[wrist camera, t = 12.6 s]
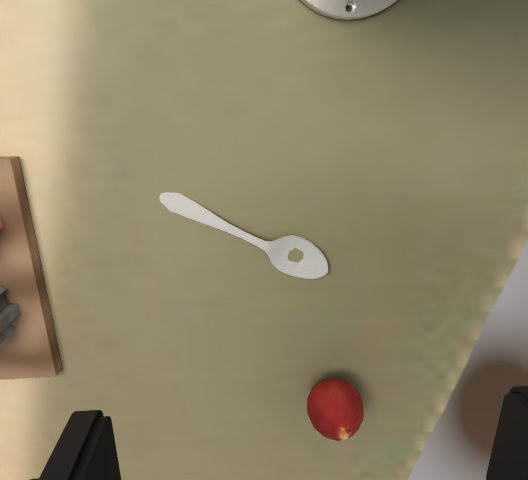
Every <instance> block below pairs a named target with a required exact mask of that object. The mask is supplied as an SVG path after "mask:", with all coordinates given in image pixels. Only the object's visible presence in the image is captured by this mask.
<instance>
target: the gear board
mask: <svg viewBox="0 0 528 480" xmlns="http://www.w3.org/2000/svg"><path fill="white" fill-rule="evenodd" d="M0 216H1V220H2V225H3V228H1V229H0V380H1V379H21V378H40V377H56V376H57V375H58V373H59V371H60V370H61V368H62V365H61V360H60V355H59V351H58V346H57V341H56V336H55V331H54V326H53V321H52V316H51V311H50V307H49V302H48V297H47V292H46V287H45V282H44V277H43V272H42V267H41V262H40V258H39V253H38V248H37V243H36V238H35V233H34V228H33V223H32V218H31V214H30V209H29V204H28V199H27V194H26V189H25V184H24V179H23V174H22V169H21V165H20V160H19V157H0Z"/></svg>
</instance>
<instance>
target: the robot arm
mask: <svg viewBox="0 0 528 480" xmlns="http://www.w3.org/2000/svg"><path fill="white" fill-rule="evenodd" d="M300 1H302V2H303V3H304V4H305V5H306V6H308V7H309V8H310V9H312V10H314V11H316V12H318V13H319V14H321V15H324V16H327V17H331V18H334V19H344V20H353V19H360V18H365V17H368V16H370V15H373V14H376V13H378V12H380V11H382V10H383V9H385V8H387V7H389V6H390V5H392V4H393V3H394V2H395V1H397V0H300ZM346 6H350V8H351V10H350V12H347V11H346ZM486 476H487V477H486V480H528V386H518V387H513V388H512V389H511V390H510V392H509V394H506V395H505V397H504V401H503V405H502V409H501V414H500V418H499V422H498V427H497V431H496V436H495V440H494V444H493V449H492V453H491V458H490V462H489V467H488V471H487V475H486ZM31 480H121V476H120V470H119V464H118V457H117V451H116V445H115V439H114V433H113V427H112V421H111V418H110V417H109V416H106V417H104V416H103V412H102V411H101V410H91V411H75V412H74V413H73V414H72V415H71V417H70V419H69V421H68V423H67V425H66V426H65V428H64V430H63V432H62V434H61V436H60V438H59V440H58V442H57V444H56V446H55V448H54V450H53V452H52V454H51V456H50V458H49V460H48V462H47V464H46V466H45V468H44V470H43V472H42V474H41V476H40V478H39V479H31Z"/></svg>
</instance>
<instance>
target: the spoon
mask: <svg viewBox="0 0 528 480" xmlns="http://www.w3.org/2000/svg"><path fill="white" fill-rule="evenodd" d="M159 199H160V201H161V203H162V204H163V205H164V206H165V207H166V208H168V209H169V210H170V211H172V212H175V213H177V214H180V215H182V216H184V217H187V218H190V219H192V220H195V221H198V222H200V223H203V224H206V225H209V226H211V227H214V228H217V229H220V230H223V231H225V232H228V233H230V234H233V235H235V236H237V237H240V238H242V239H244V240H246V241H248V242H250V243H252V244H254V245H256V246H257V247H259V248H261V249H262V250H264V251H265V252H266V253H267V255H268V257H269V260H270V262H271V263H272V265H273V266H274V267H275V268H276V269H278V270H279V271H281V272H283V273H285V274H288V275H291V276H295V277H299V278H304V279H317V278H320V277H322V276H324V275H326V274H327V273H328V263H327V259H326V258H325V256H324V254H323V253H322V252H321V251H320V250H319V249H318V248H317V247H316V246H315V245H314V244H313V243H311V242H310V241H308V240H306V239H305V238H303V237H299V236H295V235H290V236H284V237H281V238H279V239H277V240H274V241H265V240H262V239H259V238H257V237H255V236H253V235H250V234H248V233H246V232H244V231H242V230H240V229H238V228H236V227H234V226H233V225H231V224H229V223H227V222H226V221H224V220H222V219H221V218H219V217H218V216H216V215H215V214H213V213H212V212H210V211H209V210H207V209H205V208H204V207H202V206H200V205H199V204H197V203H196V202H194V201H192V200H190V199H189V198H187V197H185V196H183V195H181V194H178V193H171V192H165V193H162V194H161V195H160V198H159ZM293 248H297V249H299V250H300V251H302V252H304V257H303V260H301V261H300V262H299V263H296V262H292V261H289V260H288V253H289V252H290V251H291V250H292V249H293Z"/></svg>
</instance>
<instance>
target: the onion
mask: <svg viewBox="0 0 528 480" xmlns="http://www.w3.org/2000/svg"><path fill="white" fill-rule="evenodd" d="M307 412H308V415H309V418H310V420H311V423H312V425H313V427H314V428H315V429H316V430H317V431H318V432H319V433H321V434H322V435H323V436H324V437H326V438H329V439H332V440H336V441H339V440H347V439H348V438H349V437H351V436H353V435H354V434H355V433H356V432H357V431H358V429H359V427H360V425H361V423H362V421H363V402H362V399H361V397H360V395H359V393H358V391H357V390H356V388H355V387H354V386H353V385H351V384H350V383H349V382H347V381H345V380H343V379H339V378H331V379H326V380H324V381H321V382H319V383H318V384H317V385H315V386H314V387H313V389H312V390H311V392H310V394H309V396H308V399H307Z"/></svg>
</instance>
